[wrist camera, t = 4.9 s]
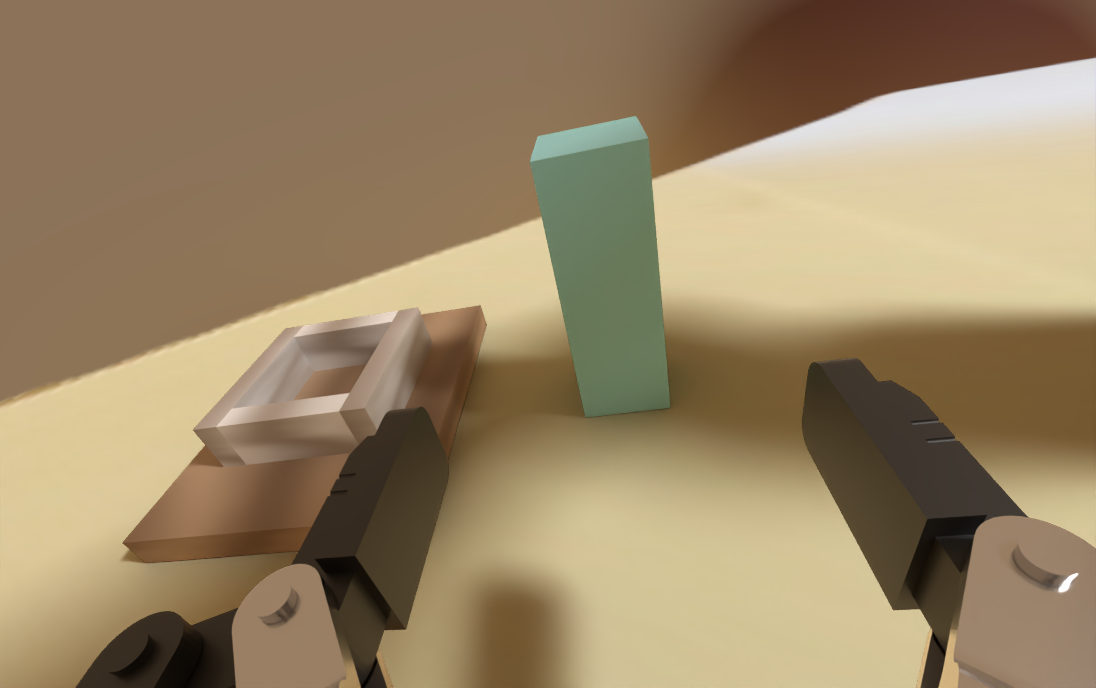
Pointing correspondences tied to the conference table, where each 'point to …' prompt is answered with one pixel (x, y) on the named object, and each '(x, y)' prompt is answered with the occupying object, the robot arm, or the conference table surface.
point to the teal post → (605, 262)
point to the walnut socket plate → (307, 428)
